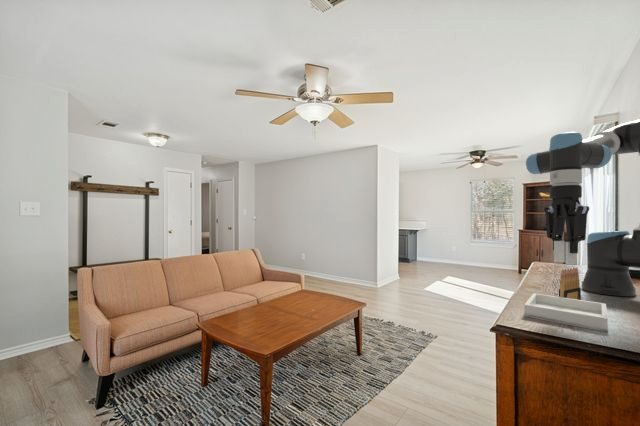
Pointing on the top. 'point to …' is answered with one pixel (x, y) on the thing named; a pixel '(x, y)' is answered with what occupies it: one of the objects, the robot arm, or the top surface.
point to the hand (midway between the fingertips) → (564, 263)
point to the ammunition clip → (570, 284)
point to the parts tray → (567, 311)
